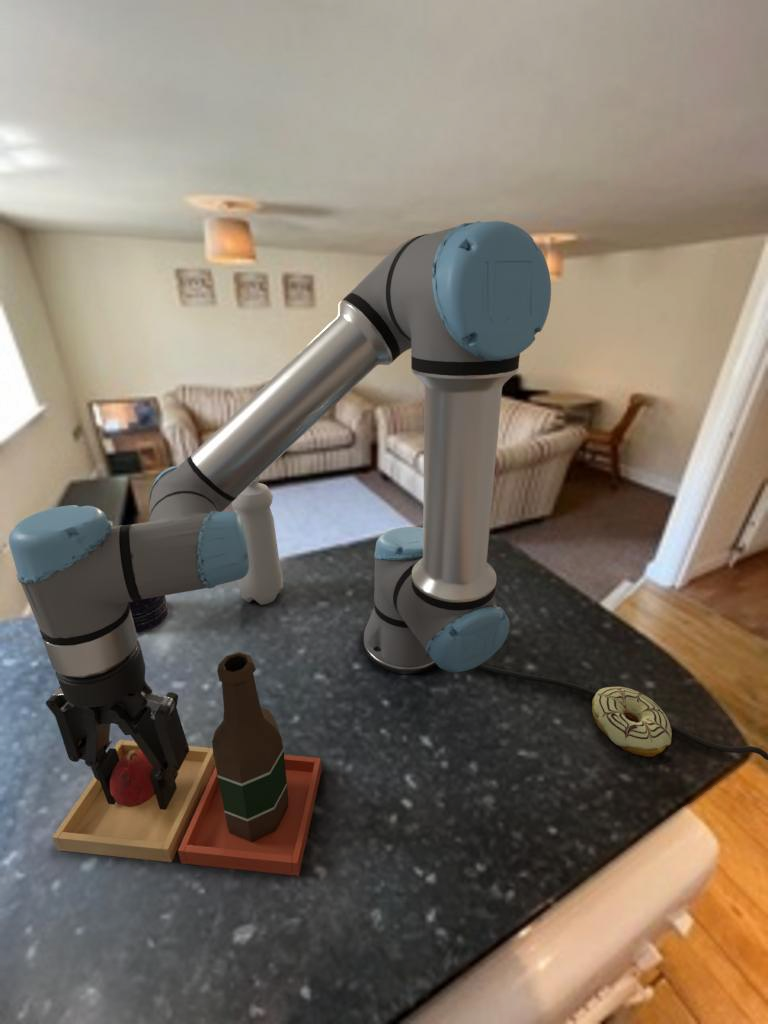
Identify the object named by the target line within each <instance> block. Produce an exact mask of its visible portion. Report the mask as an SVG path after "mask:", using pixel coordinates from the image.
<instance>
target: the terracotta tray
mask: <svg viewBox="0 0 768 1024" xmlns="http://www.w3.org/2000/svg"><path fill="white" fill-rule="evenodd" d="M284 758H285V768H286V779H287V789H288V808H287V810H286V812H285V814H284V816H283V818H282V820H281V822H280V824H279V826H278V828H277V830H276V831H274V832H272V833H270V834H268V835H266V836H264V837H262V838H260V839H258V840H256V841H254V842H250V841H248V840H245V839H243V838H240V837H238V836H235V835H233V834H230V832H229V829H228V826H227V821H226V816H225V811H224V806H223V801H222V796H221V791H220V786H219V781H218V776H217V771H216V766H215V767H214V769H213V771H212V774H211V776H210V778H209V780H208V782H207V785H206V787H205V789H204V791H203V794H202V796H201V798H200V800H199V803H198V805H197V807H196V809H195V812H194V814H193V816H192V818H191V821H190V823H189V825H188V827H187V829H186V832H185V834H184V836H183V838H182V841H181V843H180V845H179V847H178V850H177V852H178V856H179V859H180V863H181V864H184V865H193V866H202V867H203V866H204V867H211V868H221V869H222V868H223V869H229V870H230V869H231V870H240V871H249V872H259V873H269V874H277V875H285V876H295V877H296V876H297V877H299V876H300V873H301V869H302V863H303V859H304V855H305V849H306V845H307V841H308V835H309V832H310V827H311V821H312V817H313V811H314V808H315V803H316V798H317V795H318V794H317V793H318V789H319V785H320V780H321V776H322V770H323V769H322V758H321V757H315V756H304V755H293V754H284Z"/></svg>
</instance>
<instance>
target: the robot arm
mask: <svg viewBox="0 0 768 1024" xmlns="http://www.w3.org/2000/svg"><path fill="white" fill-rule="evenodd" d="M551 298H552V281H551V274H550V269H549V267H548V263H547V260H546V258H545V255H544V253H543V251H542V250H541V249H540V248H539V247H538V246H537V243H536V242H535V239H534V238H533V237H532V236H531V235H530V234H529V233H528V232H527V231H526V230H524V229H523V228H521V227H520V226H518V225H515V224H513V223H510V222H508V221H507V222H506V221H502V220H501V221H500V220H493V221H480V220H478V221H475V222H464V223H462V224H460V225H458V226H457V225H456V226H454V227H450V228H447V229H443V230H438V231H435V232H432V233H424V234H421V235H417V236H415V237H412V238H409V239H407V240H406V241H404V242H402V243H401V244H399V245H398V246H397V247H396V248H395V249H393V250H391V252H389V253H388V254H387V256H386V257H384V258H383V259H382V260H381V261H380V262H379V263H378V264H377V265H376V266H375V267H374V268H373V269H372V270H371V271H370V272H369V273H368V274H367V275H365V277H364V278H363V279H362V280H361V281H360V282H359V283H357V285H356V286H355V287H354V288H353V289H352V290H351V291H350V292H349V293H348V294H347V295H346V296H344V297H343V298H342V300H340V301H339V303H338V309H337V311H338V313H337V316H336V318H334V319H333V321H331V322H330V323H329V324H328V325H327V326H326V327H325V328H324V329H322V331H321V332H319V334H317V335H316V336H315V337H313V339H312V340H311V341H309V343H307V345H306V346H305V347H303V349H302V350H300V351H299V352H298V353H297V354H296V355H295V356H294V357H293V358H292V359H291V360H290V361H289V362H287V363H286V364H285V366H283V367H282V368H281V369H280V370H279V371H278V372H277V373H276V374H275V375H274V376H273V377H272V378H271V379H270V380H268V382H266V384H265V385H263V386H262V387H261V388H260V389H259V390H258V391H257V392H256V393H255V394H254V395H252V397H250V398H249V400H248V401H246V402H245V403H244V404H243V405H242V406H241V407H239V409H238V410H237V411H236V412H234V414H233V415H232V416H231V417H229V418H228V419H227V420H226V421H225V422H224V423H223V424H222V425H221V426H219V427H218V429H216V430H215V431H214V433H212V434H211V436H209V437H208V438H207V439H206V440H205V441H204V442H203V443H202V444H201V445H199V447H197V448H196V449H195V450H194V452H192V453H191V454H190V455H189V457H187V458H186V459H185V460H183V461H182V462H181V463H180V464H177V465H173V466H170V467H168V468H165V469H164V470H162V471H161V472H160V473H159V474H158V475H157V477H156V478H155V480H154V482H153V483H152V486H151V490H150V492H149V501H148V503H149V515H148V517H149V518H148V519H149V520H148V521H146V522H140V523H132V524H125V525H124V524H120V525H112V523H111V522H110V521H109V520H108V518H107V514H106V513H105V512H104V511H103V510H102V509H100V508H98V507H96V506H92V505H83V506H80V505H76V504H72V505H62V506H57V507H53V508H47V509H45V510H42V511H41V510H40V511H38V512H35V513H33V514H31V515H28V516H27V517H25V518H23V519H22V520H20V521H19V522H17V524H15V526H14V527H13V529H12V530H11V531H10V533H9V535H8V544H9V548H10V551H11V552H10V553H11V554H12V555H11V557H12V559H13V563H14V566H15V569H16V573H17V574H16V578H17V581H18V583H20V585H21V587H22V590H23V592H24V595H25V597H26V600H27V602H28V605H29V607H30V609H31V612H32V614H33V617H34V619H35V621H36V624H37V627H38V629H39V633H40V635H41V639H42V642H43V645H44V647H45V651H46V653H47V655H48V658H49V661H50V664H51V668H52V669H53V670H54V671H55V676H56V679H57V683H58V685H59V687H58V689H56V690H55V691H54V692H53V694H52V695H51V696H50V697H49V698H48V699H47V700H46V701H45V705H46V707H47V708H48V710H49V711H50V712H51V713H52V714H53V716H54V717H55V720H56V723H57V727H58V730H59V732H60V736H61V739H62V742H63V746H64V748H65V751H66V754H67V757H68V759H69V760H70V762H72V763H73V762H74V763H78V762H79V761H80V760H82V761H84V763H85V765H86V767H87V766H88V767H90V769H91V772H92V774H93V778H94V777H95V778H96V779H97V780H98V781H100V783H101V786H102V789H103V791H104V794H105V797H106V799H107V802H108V804H113V805H114V804H115V802H116V801H115V799H114V798H113V796H112V795H111V793H110V777H111V774H112V772H113V769H114V767H115V766H116V764H117V763H118V762H119V761H120V760H119V757H118V754H117V751H116V749H114V747H110V745H111V744H112V742H113V740H110V733H111V724H114V725H116V726H118V728H119V729H120V731H121V732H122V733H123V735H125V736H130V737H131V738H132V740H133V741H135V742H136V744H137V745H138V747H139V748H140V749H141V751H142V752H143V754H144V755H145V756H146V758H147V759H148V761H149V762H150V764H151V765H152V766H153V769H152V771H151V773H150V778H151V781H152V784H153V788H154V791H155V794H156V798H157V801H158V804H159V808H160V809H163V810H166V809H167V807H168V805H169V803H170V801H171V799H172V797H173V795H174V793H175V791H176V789H177V786H176V783H175V780H176V778H177V776H178V770H179V769H180V767H181V765H182V763H183V762H184V760H185V758H186V756H187V754H188V752H189V747H188V746H189V744H188V740H187V737H186V734H185V730H184V728H183V724H182V721H181V718H180V715H179V712H178V708H177V706H178V701H179V695H178V694H177V692H174V691H169V692H167V694H166V696H163V695H159V694H156V693H153V690H152V688H151V686H150V685H148V683H147V682H146V663H145V658H144V655H143V651H142V647H141V644H140V641H139V639H138V633H136V629H135V625H134V622H133V618H132V614H131V610H130V605H129V602H133V601H139V600H143V599H147V598H153V597H158V596H164V595H165V596H169V595H174V594H181V593H186V592H192V591H198V590H204V589H212V588H215V587H217V586H220V585H223V584H227V583H228V584H229V583H232V582H235V581H238V580H240V579H242V578H244V577H245V576H246V575H247V573H248V570H249V557H248V549H247V542H246V536H245V531H244V526H243V523H242V519H241V517H240V515H239V514H238V513H236V512H235V511H233V510H226V509H227V508H228V507H230V505H232V504H231V503H232V502H233V501H234V500H235V499H236V498H237V497H238V496H239V495H240V494H241V493H242V492H243V491H244V490H245V489H246V488H247V487H248V486H249V485H250V484H251V483H252V482H254V481H255V480H256V479H257V478H258V477H259V476H260V475H261V476H262V474H264V472H265V471H266V470H267V469H269V468H270V467H271V466H272V465H273V464H274V463H275V462H276V461H277V460H278V459H280V457H282V456H283V454H285V453H286V452H287V451H288V450H289V449H290V448H291V447H292V446H293V445H294V444H295V443H296V442H297V441H298V440H300V439H301V438H302V437H303V436H304V435H305V434H306V433H307V432H308V431H309V430H311V428H312V427H314V425H315V424H316V423H318V421H320V420H321V419H322V418H323V417H324V416H325V415H326V414H327V413H328V412H329V411H330V410H331V409H333V408H334V407H335V406H336V405H337V404H338V403H339V402H340V401H341V400H342V399H343V398H344V397H345V396H347V394H349V393H350V392H351V391H352V390H353V389H354V387H356V386H357V385H358V384H360V383H361V381H363V379H365V378H366V377H367V376H368V375H369V374H370V373H371V372H372V371H373V370H374V369H375V368H376V367H377V366H380V365H381V366H390V365H391V364H392V363H393V362H394V361H395V360H397V358H398V357H400V356H401V355H402V354H404V353H405V352H407V351H409V350H410V349H411V350H410V356H411V357H410V359H411V360H410V363H411V364H410V365H411V366H410V367H411V372H412V373H413V374H414V375H415V376H416V377H417V379H418V380H419V381H420V382H421V383H422V384H423V386H424V411H423V412H424V413H423V414H424V421H423V423H424V424H423V426H424V427H423V434H424V435H423V441H424V442H423V499H422V500H423V505H422V506H423V507H422V508H423V511H422V512H423V513H422V514H423V515H422V527H419V526H404V527H398V528H397V527H396V528H392V529H390V530H387V531H385V532H384V533H382V534H381V535H380V536H379V537H377V539H376V543H375V548H374V549H375V550H374V554H373V557H374V586H373V587H374V588H373V589H374V590H373V591H374V592H373V593H374V595H373V600H374V601H373V603H374V604H373V610H372V612H371V614H370V616H369V619H368V621H367V624H366V626H365V629H364V632H363V649H364V652H365V654H366V656H367V658H369V660H370V661H371V662H372V663H373V664H374V665H375V666H377V667H379V668H380V669H382V670H384V671H388V672H389V673H393V674H397V675H399V674H400V675H416V674H421V673H424V672H427V671H430V670H432V669H433V668H435V667H436V666H437V667H439V668H440V669H441V670H444V671H447V672H448V673H449V672H450V673H461V672H462V673H463V672H466V671H467V672H468V671H470V670H472V669H475V668H478V669H480V670H485V671H487V672H491V673H494V674H495V673H496V674H500V675H504V676H509V677H512V678H517V679H521V680H522V679H523V680H529V681H535V682H541V683H545V684H546V683H547V684H551V685H556V686H560V687H564V688H568V689H570V690H575V691H577V692H580V693H583V694H587V695H589V696H591V697H595V694H596V693H597V692H598V691H595V690H592V689H590V688H587V687H583V686H581V685H578V684H575V683H571V682H567V681H564V680H560V679H555V678H550V677H546V676H541V675H540V676H539V675H534V674H526V673H523V672H522V673H521V672H517V671H512V670H509V669H503V668H498V667H494V666H490V665H487V664H484V663H485V662H487V661H488V660H490V659H491V658H492V657H493V656H494V655H495V654H496V653H497V652H498V651H499V650H500V648H501V647H503V645H504V643H505V642H506V640H507V638H508V635H509V633H510V624H511V623H510V619H509V617H508V615H507V614H506V612H505V610H504V609H503V608H502V607H501V606H498V605H497V603H496V591H497V573H496V571H495V569H494V568H493V566H492V565H491V564H490V563H489V562H488V554H489V553H488V551H489V541H490V540H489V539H490V532H491V531H490V528H491V518H492V509H493V508H492V506H493V498H494V497H493V495H494V484H495V472H496V461H497V450H498V439H499V427H500V417H501V405H502V392H503V387H504V385H505V383H507V382H508V381H509V380H510V379H511V378H512V377H513V376H514V375H516V374H517V373H518V372H519V365H520V357H521V353H523V352H524V351H526V350H527V349H528V348H529V347H530V346H532V344H533V343H534V342H535V340H536V335H537V333H540V332H541V331H543V328H544V326H545V324H546V321H547V319H548V315H549V311H550V306H551V301H552V299H551ZM225 510H226V511H225ZM670 727H671V731H672V732H674V733H676V734H678V735H680V736H682V737H683V738H685V739H688V740H690V741H692V742H694V743H696V744H699V745H702V746H704V747H706V748H710V749H713V750H715V751H719V752H723V753H730V754H731V753H732V754H733V753H734V754H738V753H754V754H757V755H759V756H761V757H762V758H763V759H764V760H766V761H768V753H767V751H765V750H763V748H760V747H758V746H754V745H753V746H752V745H740V746H739V745H737V746H733V745H731V746H728V745H722V744H718V743H715V742H712V741H710V740H706V739H704V738H701V737H699V736H696V735H695V734H692V733H690V732H688V731H686V730H684V729H682V728H680V727H677V726H675V725H674V724H671V723H670ZM107 749H108V750H107Z"/></svg>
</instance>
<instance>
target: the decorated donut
mask: <svg viewBox="0 0 768 1024" xmlns="http://www.w3.org/2000/svg"><path fill="white" fill-rule="evenodd" d="M596 692H597V693H596V694H595V696H593V698H592V700H591V701H592V702H591V704H592V707H591V708H592V716H593V718H594V721H595V723H596V725H597V727H598V728H599V729H600V731H601V732H602V733H603V734H604V735H605V736H606V737H607V738H608V739H609V740H610V741H611V742H612V743H613V744H615V745H616V746H618V747H620V748H621V749H622V750H623V751H626V752H629V753H631V754H633V755H638V756H642V757H646V758H649V757H651V758H652V757H653V758H654V757H655V756H656V755H658V754H659V755H660V754H662V752H663V751H665V749H666V748H667V747H668V746H670V745H671V744H672V735H673V733H672V732H673V731H671V727H670V724H671V723H670V721H669V719H668V716H667V715H666V713H665V712H664V711H663V710H662V708H661V707H660V706H659V705H658V704H657V703H656V702H655V701H654V700H653V699H651V698H649V697H648V696H647V695H644V694H643V693H641V692H640V691H637V690H634V689H632V688H629V687H624V686H607V687H603V688H599V689H598V690H597V691H596Z"/></svg>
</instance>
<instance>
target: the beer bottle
mask: <svg viewBox="0 0 768 1024" xmlns="http://www.w3.org/2000/svg"><path fill="white" fill-rule="evenodd" d="M256 670H257V669H256V665H255V662H254V660H253V658H252V656H251V655H250V654H248V653H245V652H240V651H239V652H234V653H231V654H228V655H225V656H224V658H223V659H222V660H221V661H220V662H219V664H218V665H217V670H216V672H217V676H218V681H219V682H220V683H221V689H222V702H223V716H222V717H223V718H222V721H221V722H220V723H219V725H218V726H217V727H216V729H215V730H214V734H213V737H212V740H211V745H212V748H213V755H214V760H215V766H216V771H217V776H218V781H219V786H220V791H221V796H222V801H223V806H224V811H225V816H226V821H227V826H228V829H229V832H230V834H233V835H235V836H238V837H240V838H243V839H245V840H248V841H250V842H254V841H256V840H258V839H260V838H262V837H264V836H266V835H268V834H270V833H272V832H274V831H276V830H277V828H278V826H279V824H280V822H281V820H282V818H283V816H284V814H285V812H286V810H287V808H288V789H287V779H286V768H285V758H284V755H285V748H284V744H283V740H282V735H281V733H280V730H279V727H278V725H277V721H276V719H275V717H274V715H273V714H272V713H271V711H270V710H268V709H266V708H264V707H262V706H261V703H260V700H259V694H258V690H257V685H256V680H255V676H254V673H255V671H256Z"/></svg>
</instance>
